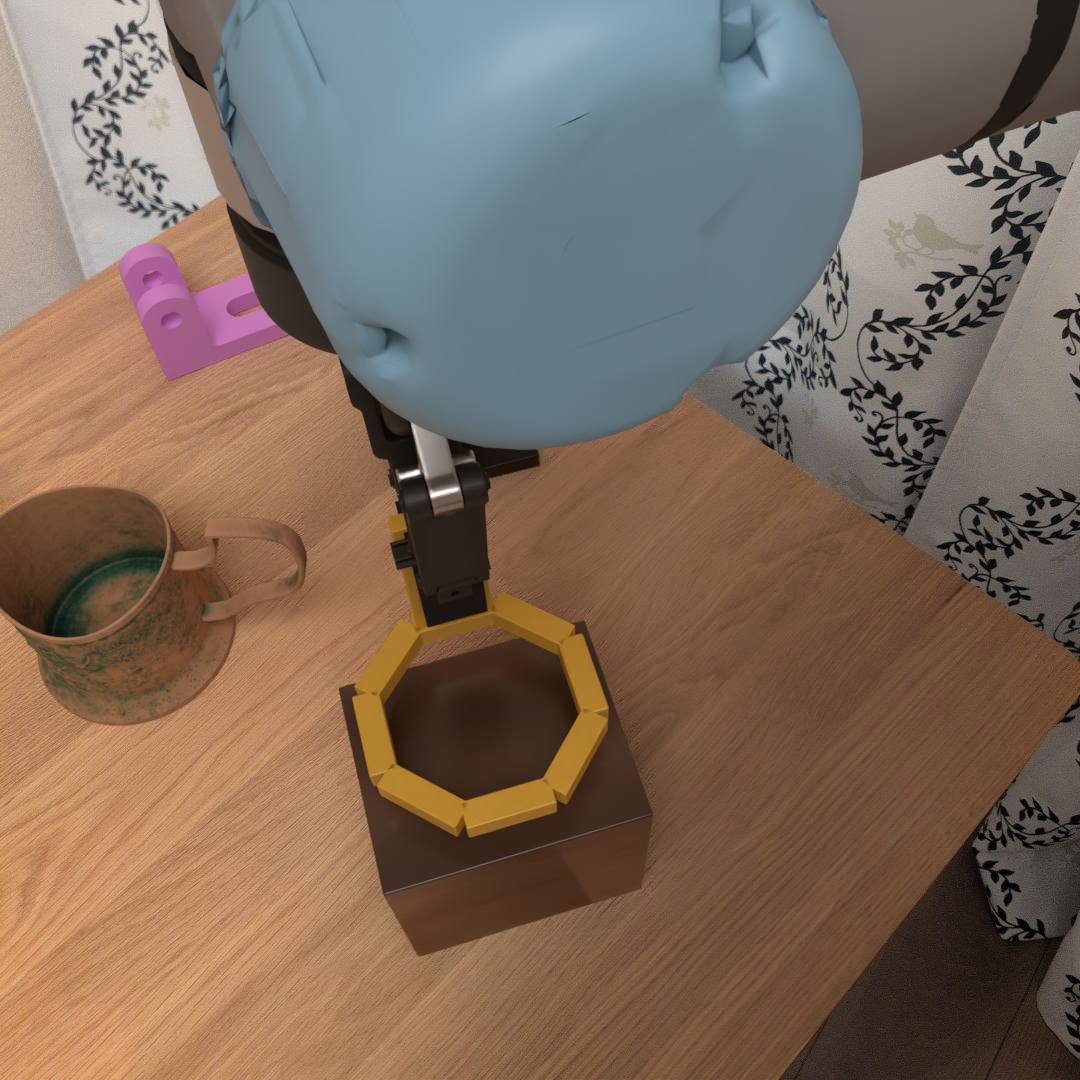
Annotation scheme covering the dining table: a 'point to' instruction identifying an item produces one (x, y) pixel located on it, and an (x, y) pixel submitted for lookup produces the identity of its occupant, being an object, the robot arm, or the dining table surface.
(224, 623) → the mug
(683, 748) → the dining table surface
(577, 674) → the ring
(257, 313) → the bracket
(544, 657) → the block
